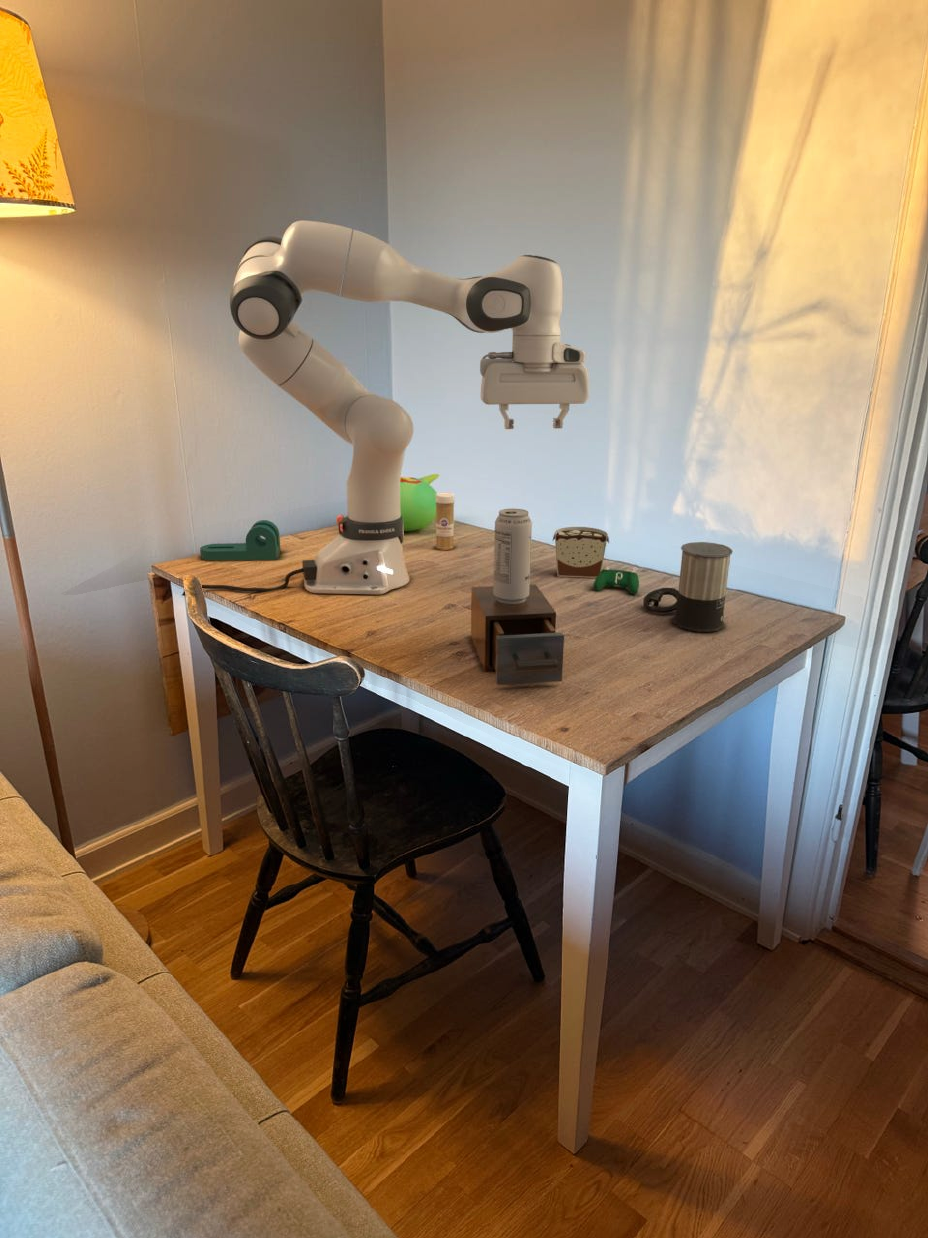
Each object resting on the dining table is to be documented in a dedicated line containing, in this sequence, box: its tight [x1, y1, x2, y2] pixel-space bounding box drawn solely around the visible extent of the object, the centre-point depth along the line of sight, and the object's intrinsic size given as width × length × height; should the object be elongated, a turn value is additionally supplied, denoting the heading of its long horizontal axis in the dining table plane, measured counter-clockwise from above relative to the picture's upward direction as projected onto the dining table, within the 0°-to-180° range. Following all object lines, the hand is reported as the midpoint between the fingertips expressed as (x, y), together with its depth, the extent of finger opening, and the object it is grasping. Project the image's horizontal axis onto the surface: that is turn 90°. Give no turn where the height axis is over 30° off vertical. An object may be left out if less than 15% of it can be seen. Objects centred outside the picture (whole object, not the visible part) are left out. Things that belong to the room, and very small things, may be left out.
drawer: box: [490, 618, 565, 686], centre depth 131 cm, size 18×10×8 cm, turn 8°
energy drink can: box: [493, 508, 533, 604], centre depth 136 cm, size 6×6×15 cm
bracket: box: [199, 519, 282, 562], centre depth 194 cm, size 18×7×8 cm, turn 94°
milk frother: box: [643, 541, 733, 633], centre depth 156 cm, size 14×16×15 cm
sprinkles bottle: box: [435, 492, 455, 551], centre depth 201 cm, size 5×5×14 cm
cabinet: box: [470, 584, 557, 672], centre depth 141 cm, size 15×12×10 cm
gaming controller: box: [593, 565, 640, 595], centre depth 174 cm, size 9×4×6 cm
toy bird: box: [400, 473, 440, 532], centre depth 217 cm, size 18×17×15 cm
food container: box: [551, 526, 610, 579], centre depth 183 cm, size 12×6×10 cm, turn 84°
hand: (533, 428), depth 156 cm, fingers open, 8 cm apart
